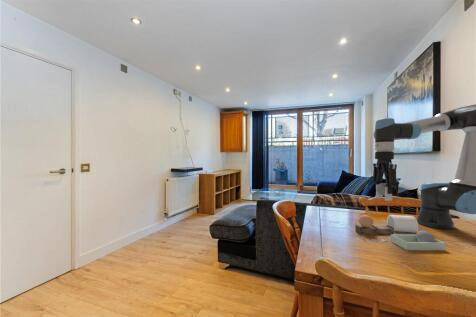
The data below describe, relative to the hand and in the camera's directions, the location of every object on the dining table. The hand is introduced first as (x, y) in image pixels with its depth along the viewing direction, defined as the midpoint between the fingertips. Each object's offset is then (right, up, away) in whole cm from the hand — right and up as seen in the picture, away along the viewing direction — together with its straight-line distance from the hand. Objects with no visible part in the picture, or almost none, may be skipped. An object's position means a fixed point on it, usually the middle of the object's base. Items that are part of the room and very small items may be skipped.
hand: (383, 199), depth 101 cm
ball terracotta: (-8, -14, +1) cm, 16 cm away
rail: (-4, -17, +1) cm, 17 cm away
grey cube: (0, +2, 0) cm, 2 cm away
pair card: (-8, -17, -9) cm, 21 cm away
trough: (+4, -17, -14) cm, 22 cm away
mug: (+12, -17, +6) cm, 22 cm away
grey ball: (+7, -16, -14) cm, 23 cm away
